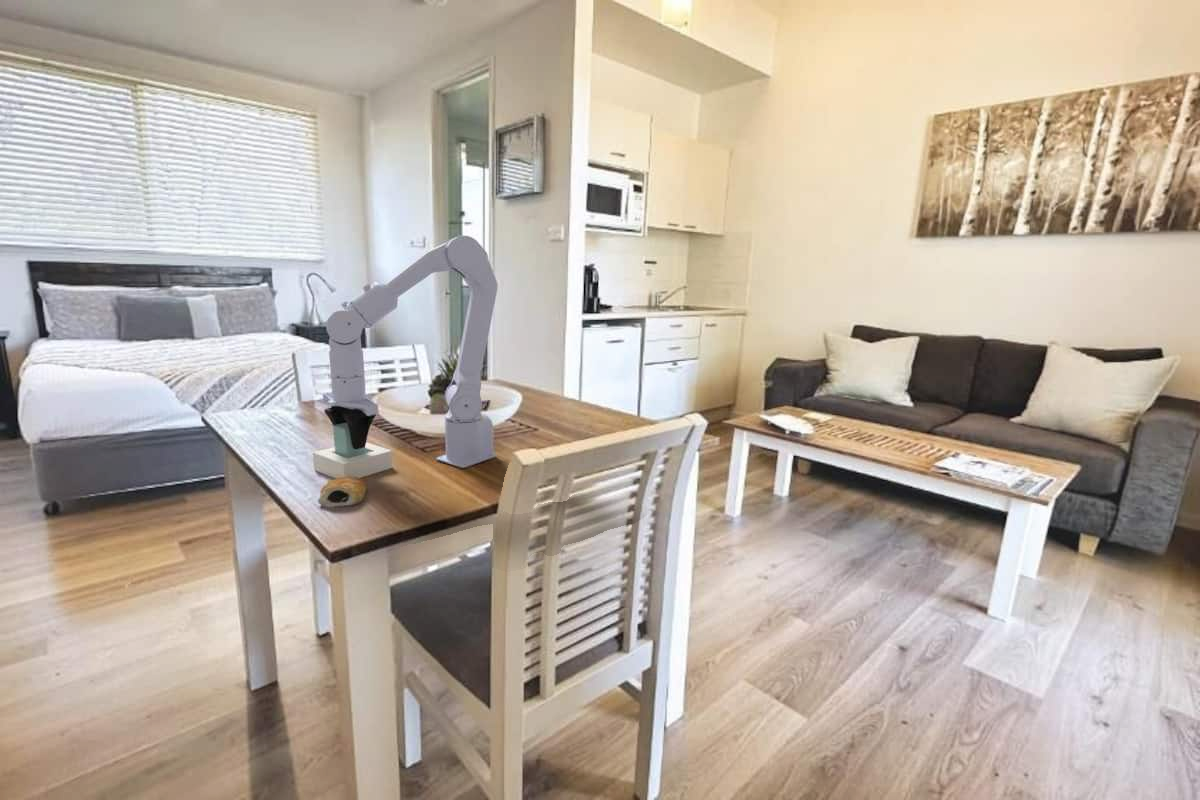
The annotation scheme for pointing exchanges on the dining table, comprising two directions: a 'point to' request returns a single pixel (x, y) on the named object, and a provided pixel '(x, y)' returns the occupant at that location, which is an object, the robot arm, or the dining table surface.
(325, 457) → the well
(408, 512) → the dining table surface
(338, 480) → the pastry
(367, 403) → the robot arm
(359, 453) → the post
